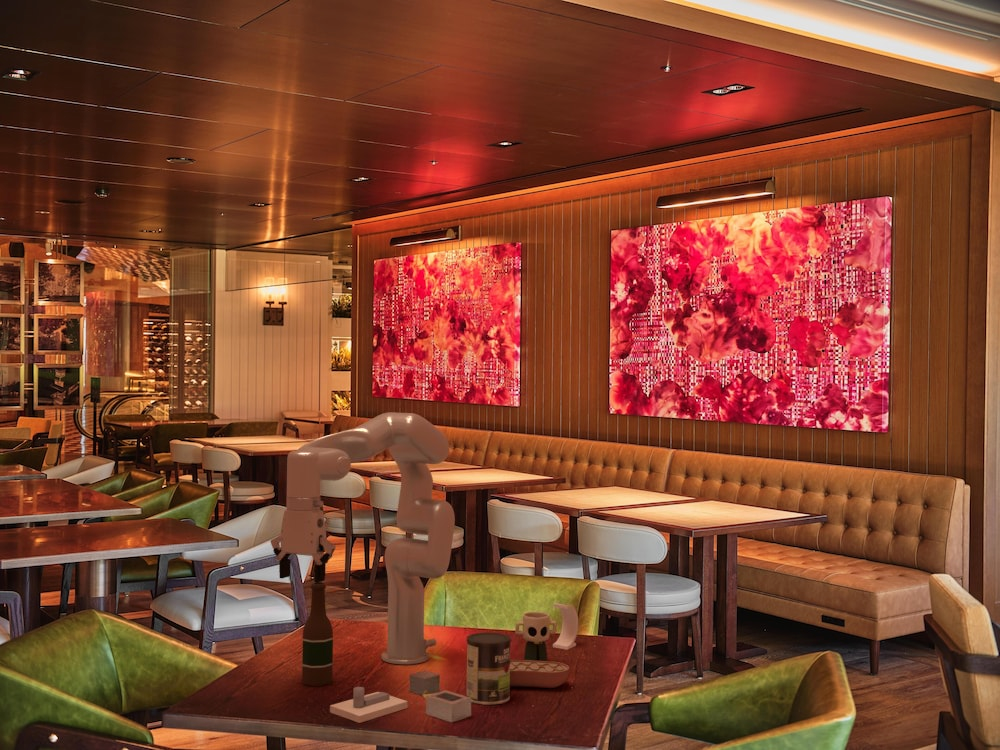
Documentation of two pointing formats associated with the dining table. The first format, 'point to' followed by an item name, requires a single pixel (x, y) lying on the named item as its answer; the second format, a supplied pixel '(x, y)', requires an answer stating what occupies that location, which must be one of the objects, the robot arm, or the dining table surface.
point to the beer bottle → (317, 641)
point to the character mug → (536, 634)
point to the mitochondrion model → (537, 673)
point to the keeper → (367, 705)
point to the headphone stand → (567, 627)
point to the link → (448, 706)
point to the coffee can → (488, 668)
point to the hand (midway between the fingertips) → (302, 579)
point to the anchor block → (424, 682)
